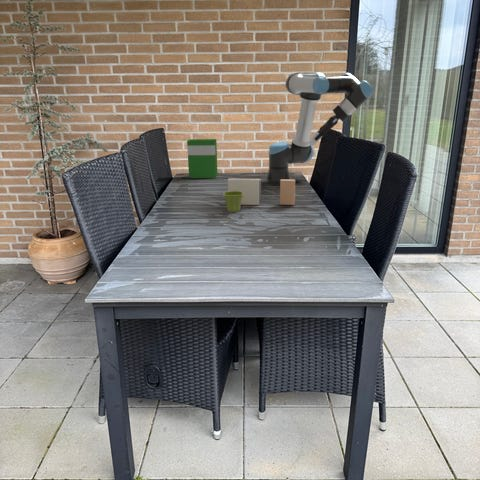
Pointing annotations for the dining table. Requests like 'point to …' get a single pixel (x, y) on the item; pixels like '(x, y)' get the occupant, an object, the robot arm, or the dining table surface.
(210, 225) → the dining table surface
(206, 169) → the hardback book
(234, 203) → the plant pot
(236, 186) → the block
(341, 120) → the robot arm
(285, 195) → the tan rectangular block
